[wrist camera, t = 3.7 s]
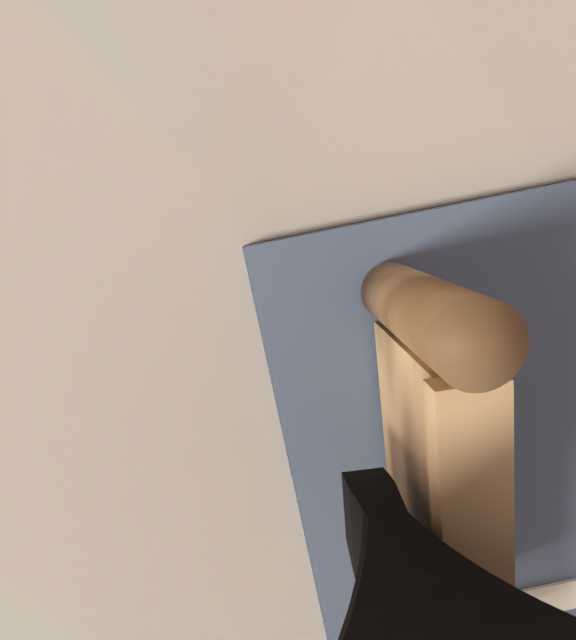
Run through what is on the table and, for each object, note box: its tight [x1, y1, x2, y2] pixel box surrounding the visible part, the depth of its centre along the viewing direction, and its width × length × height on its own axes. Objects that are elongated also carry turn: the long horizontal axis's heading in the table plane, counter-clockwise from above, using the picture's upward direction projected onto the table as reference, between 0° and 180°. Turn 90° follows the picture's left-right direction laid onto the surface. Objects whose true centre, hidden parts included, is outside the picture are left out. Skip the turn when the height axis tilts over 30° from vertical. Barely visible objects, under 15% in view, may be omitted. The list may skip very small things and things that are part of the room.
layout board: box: [243, 179, 576, 640], centre depth 16 cm, size 28×16×1 cm, turn 11°
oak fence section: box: [361, 262, 529, 587], centre depth 11 cm, size 12×2×5 cm, turn 7°
